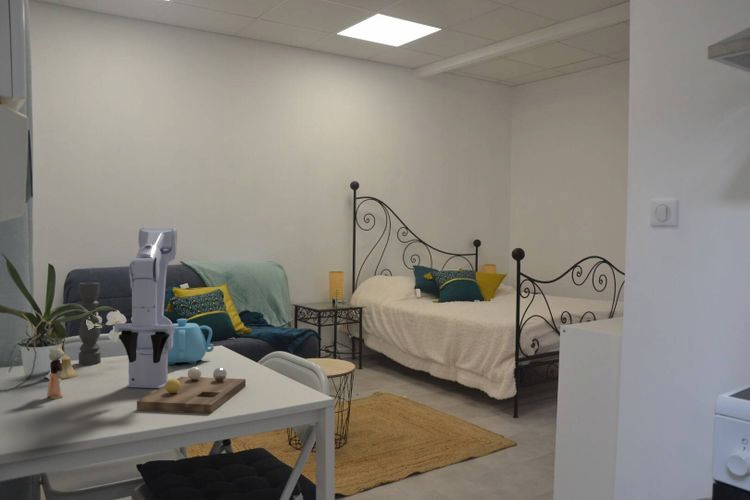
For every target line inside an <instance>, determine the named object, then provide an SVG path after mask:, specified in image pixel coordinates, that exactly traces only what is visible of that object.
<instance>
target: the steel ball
mask: <svg viewBox="0 0 750 500" xmlns="http://www.w3.org/2000/svg"><path fill="white" fill-rule="evenodd" d="M227 377H228V373H227V370H226V369H225V368H224V367H218V368H216V369H215V370H214V371H213V373H212V378H214V379H215V380H217V381H223V380H224V379H225V378H227Z"/></svg>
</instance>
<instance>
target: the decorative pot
mask: <svg viewBox="0 0 750 500" xmlns="http://www.w3.org/2000/svg"><path fill="white" fill-rule="evenodd" d="M176 322H177V323H172V324H173V325H175V332H174V333H173V347H172V348H171V350H168V366H173V365H176V363H188V364H189V365H194V364H197V363H198V361H199V360H200V361H201V360H202V359H203V357H204V356H206V353H211V352H213V350H214V348H215V347H214V344H213V343H211V340H212V336H213V330H212V328H211V327H210V326H209V325H199V324H197V323H195V322H188V319H187V318H178V319H176ZM203 329H205V330H207V331H208V336H207V340H206V338H205V336H204V334H203V331H202V330H203ZM209 347H211V348H209Z"/></svg>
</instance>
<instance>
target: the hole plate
mask: <svg viewBox="0 0 750 500" xmlns="http://www.w3.org/2000/svg"><path fill="white" fill-rule="evenodd" d="M176 379H177V380H178V381H179V382H180V389H179V390H178V391H177V392H176V393H169V392H167V390H166V388H165V386H164V387H162V388H157V390H155V391H153V392H151V393H149V394H148V395H145V396H144V397H142V398H140V399H138V400H137V401H136V410H137V409H138V410H137V411H151V410H161V411H160V412H173V411H183V412H182V413H195V412H202V413H201V414H213V413H214V412H215V411H216V410H217V409H219V408H220V407H221V406H223V405H224V404H225V403H226V402H228V401H229V400H230V399H231V398H233V397H234V396H235V395H236V394H238V393H240V391H242V390H243V389H245V387H246V383H247V382H246V378H230V377H229V378H227V377H226V378H225V379H224V380H223V381H217V380H215V379H214V377H200V378H199V379H197V380H191V379H190V378H189V377H188V376H180V377H178V378H176ZM222 404H223V405H222ZM218 407H219V408H218ZM214 410H215V411H214ZM213 411H214V412H213Z"/></svg>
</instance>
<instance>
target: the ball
mask: <svg viewBox="0 0 750 500" xmlns="http://www.w3.org/2000/svg"><path fill="white" fill-rule="evenodd" d="M177 379H178V378H170V380H168V381H167V382H166V384H165V388H166V390H167V392H169V393H176V392H177V391H178V390H179V389H180V382H179V381H178V380H177Z"/></svg>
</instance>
